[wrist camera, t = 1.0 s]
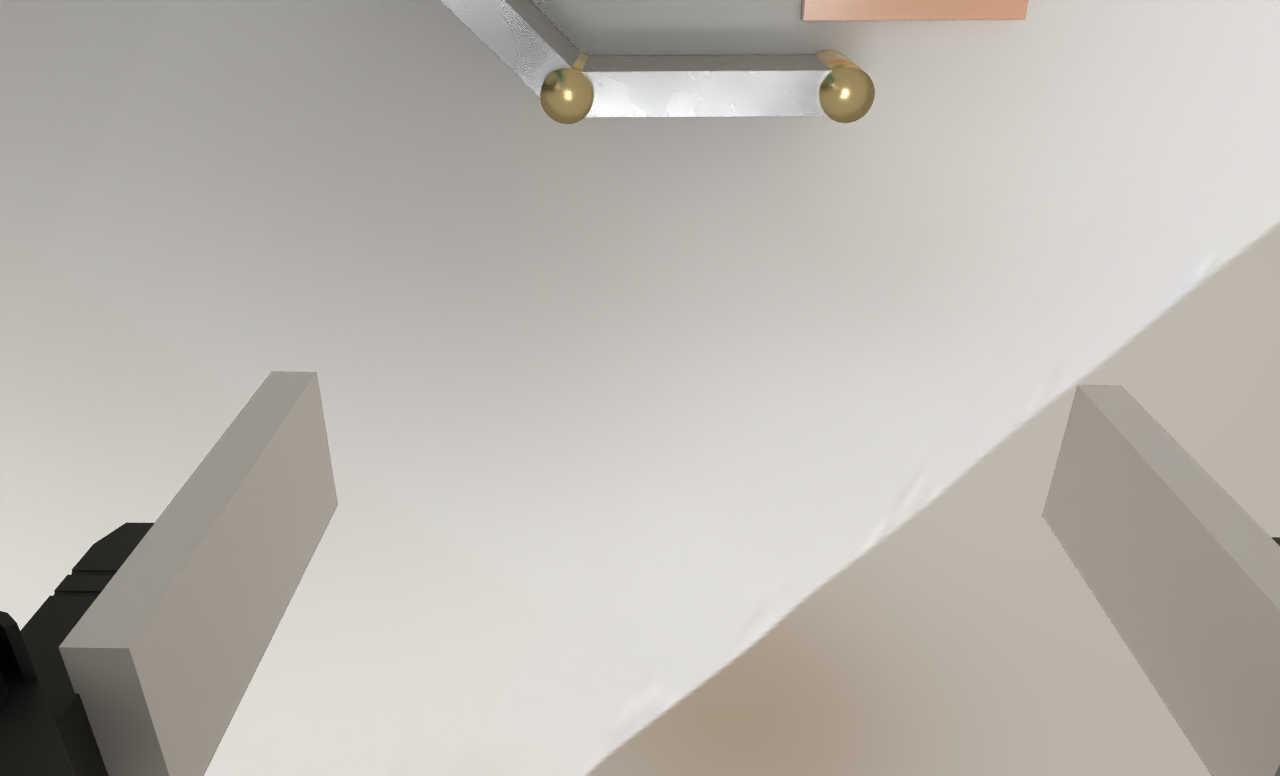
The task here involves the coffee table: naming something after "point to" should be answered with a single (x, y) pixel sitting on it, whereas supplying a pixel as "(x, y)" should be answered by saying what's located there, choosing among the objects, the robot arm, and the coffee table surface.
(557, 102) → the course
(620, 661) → the coffee table surface
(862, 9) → the tile
